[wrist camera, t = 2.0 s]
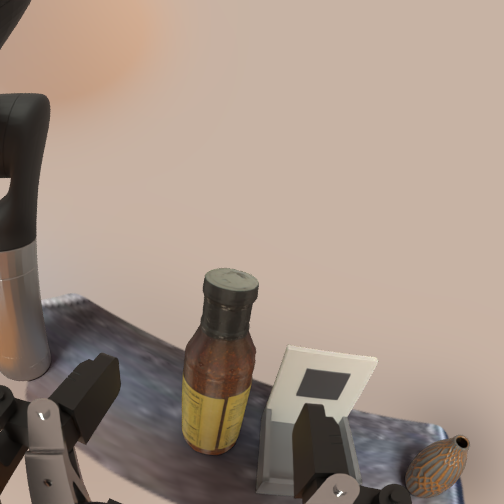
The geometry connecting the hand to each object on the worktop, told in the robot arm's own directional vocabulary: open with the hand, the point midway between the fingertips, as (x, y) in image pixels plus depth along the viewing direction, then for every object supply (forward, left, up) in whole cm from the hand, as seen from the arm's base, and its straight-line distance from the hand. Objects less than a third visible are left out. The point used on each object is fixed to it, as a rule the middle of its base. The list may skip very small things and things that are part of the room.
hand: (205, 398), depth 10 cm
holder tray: (+11, +10, -19) cm, 24 cm away
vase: (+26, +5, -19) cm, 32 cm away
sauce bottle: (0, +11, -19) cm, 22 cm away
